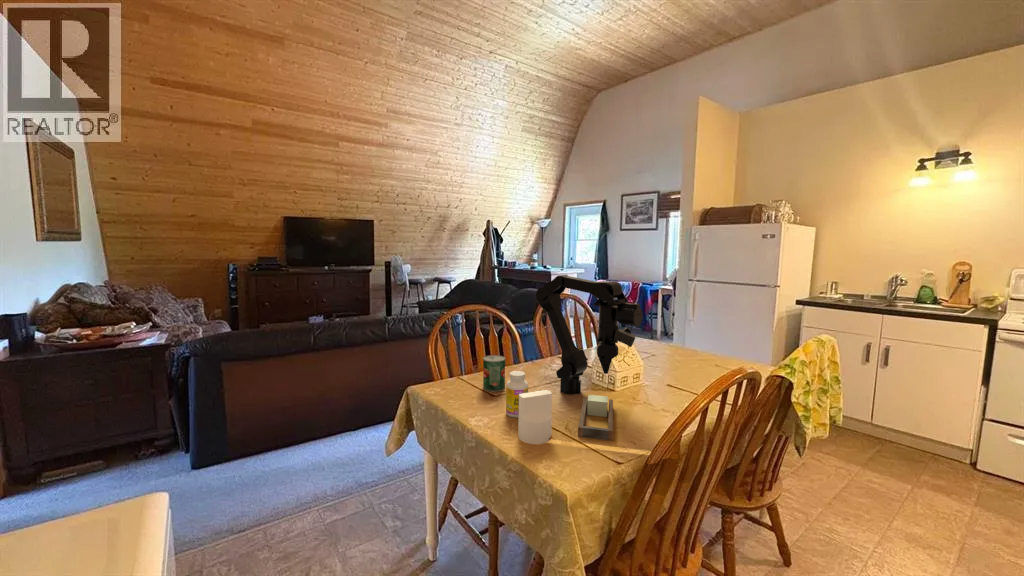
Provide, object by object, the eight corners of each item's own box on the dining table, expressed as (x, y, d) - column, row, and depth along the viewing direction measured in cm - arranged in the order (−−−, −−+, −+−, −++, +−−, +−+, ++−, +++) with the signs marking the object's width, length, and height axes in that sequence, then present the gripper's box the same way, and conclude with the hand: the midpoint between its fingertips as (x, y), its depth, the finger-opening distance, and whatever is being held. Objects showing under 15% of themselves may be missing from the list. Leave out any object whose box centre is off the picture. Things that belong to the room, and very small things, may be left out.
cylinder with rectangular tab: (527, 446, 108) (527, 402, 106) (513, 432, 116) (513, 390, 114) (557, 440, 111) (558, 397, 110) (541, 426, 119) (542, 386, 118)
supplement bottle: (512, 420, 124) (512, 378, 122) (502, 411, 129) (502, 371, 128) (531, 415, 127) (532, 374, 125) (521, 408, 132) (521, 368, 131)
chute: (577, 439, 112) (578, 427, 111) (583, 407, 133) (583, 396, 133) (612, 443, 110) (612, 431, 109) (612, 410, 131) (612, 399, 131)
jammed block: (587, 414, 125) (587, 400, 125) (588, 408, 130) (588, 394, 130) (607, 416, 124) (607, 402, 124) (607, 410, 129) (607, 396, 128)
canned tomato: (509, 389, 149) (509, 359, 148) (490, 393, 145) (490, 362, 144) (497, 382, 156) (497, 353, 155) (479, 386, 151) (479, 357, 150)
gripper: (637, 329, 121) (634, 381, 123) (632, 317, 140) (629, 362, 142) (598, 326, 124) (595, 377, 126) (598, 315, 142) (595, 359, 144)
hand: (605, 368), depth 134 cm, fingers open, 9 cm apart
